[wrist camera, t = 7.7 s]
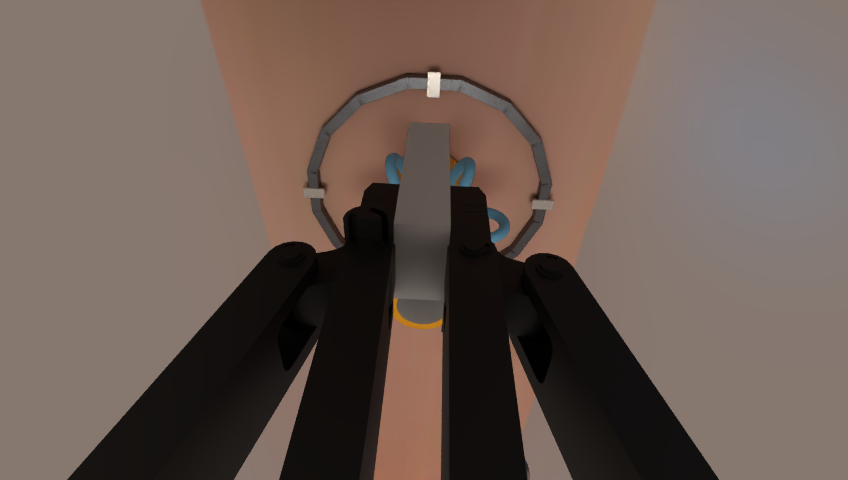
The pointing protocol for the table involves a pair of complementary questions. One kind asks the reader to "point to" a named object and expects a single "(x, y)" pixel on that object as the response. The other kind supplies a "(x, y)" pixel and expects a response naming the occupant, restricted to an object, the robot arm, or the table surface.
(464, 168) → the cylinder
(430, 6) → the table surface
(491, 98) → the centring ring
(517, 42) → the table surface
